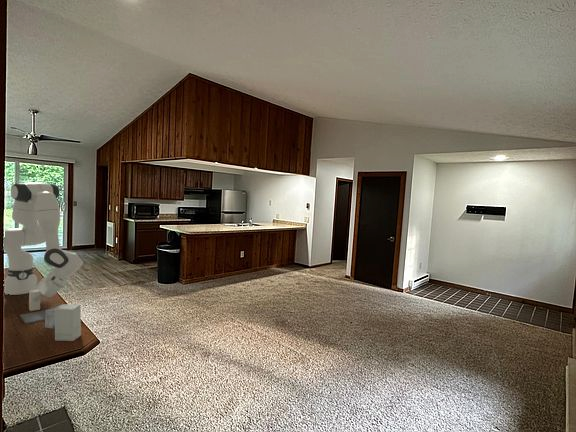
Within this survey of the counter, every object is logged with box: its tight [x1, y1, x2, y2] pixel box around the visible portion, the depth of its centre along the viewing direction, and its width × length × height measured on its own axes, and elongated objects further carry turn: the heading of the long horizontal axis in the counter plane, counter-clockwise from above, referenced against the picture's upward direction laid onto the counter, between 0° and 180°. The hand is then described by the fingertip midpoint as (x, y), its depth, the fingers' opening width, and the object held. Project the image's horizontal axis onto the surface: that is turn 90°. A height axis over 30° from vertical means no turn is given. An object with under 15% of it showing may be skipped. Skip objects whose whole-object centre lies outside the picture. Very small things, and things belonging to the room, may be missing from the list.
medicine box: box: [44, 304, 61, 329], centre depth 151 cm, size 8×4×9 cm, turn 168°
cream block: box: [28, 289, 41, 312], centre depth 166 cm, size 4×4×10 cm
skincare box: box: [54, 303, 82, 342], centre depth 139 cm, size 8×6×15 cm
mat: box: [19, 309, 46, 325], centre depth 158 cm, size 12×14×1 cm
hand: (33, 299), depth 166 cm, fingers closed on cream block, 4 cm apart
